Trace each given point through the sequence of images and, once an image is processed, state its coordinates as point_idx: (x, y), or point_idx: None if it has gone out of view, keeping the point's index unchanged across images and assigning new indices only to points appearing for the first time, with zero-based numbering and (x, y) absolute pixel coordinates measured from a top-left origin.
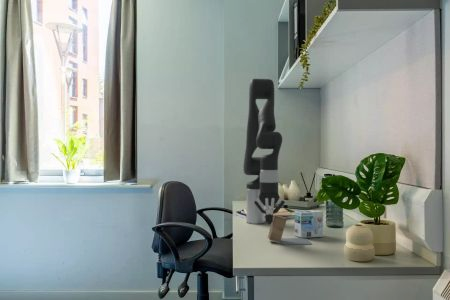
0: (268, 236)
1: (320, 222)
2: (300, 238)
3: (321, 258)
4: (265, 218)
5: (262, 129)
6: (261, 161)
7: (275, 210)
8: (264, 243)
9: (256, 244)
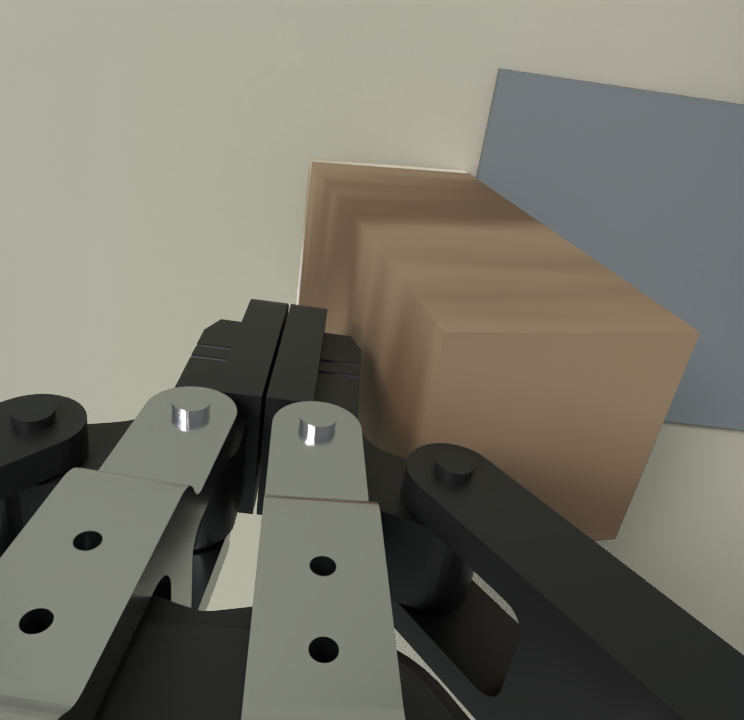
0: (311, 213)
1: None
2: None
3: None
4: (191, 368)
5: None
6: None
7: (407, 628)
8: (239, 284)
9: (129, 312)
